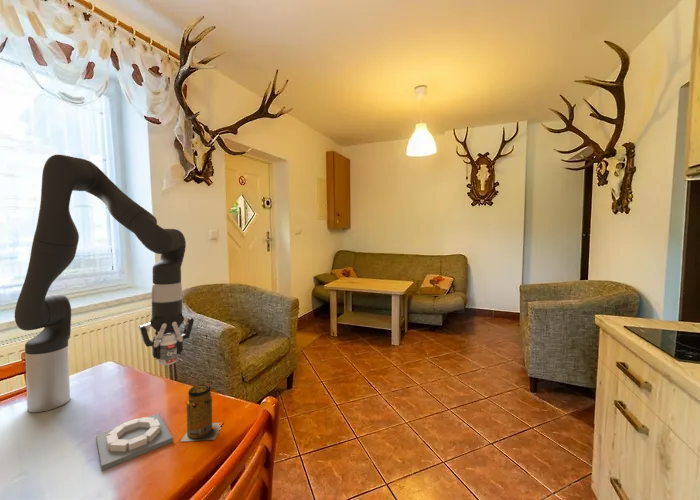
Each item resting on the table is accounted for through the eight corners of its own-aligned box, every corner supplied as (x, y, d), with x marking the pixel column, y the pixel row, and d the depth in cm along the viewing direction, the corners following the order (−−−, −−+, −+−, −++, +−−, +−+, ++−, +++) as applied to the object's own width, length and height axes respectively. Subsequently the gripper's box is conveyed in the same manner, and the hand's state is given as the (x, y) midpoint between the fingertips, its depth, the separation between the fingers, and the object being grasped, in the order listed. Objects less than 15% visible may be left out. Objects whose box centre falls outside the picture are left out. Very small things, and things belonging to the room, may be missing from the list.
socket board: (96, 439, 78) (96, 428, 78) (159, 417, 88) (159, 407, 87) (101, 470, 68) (101, 459, 68) (172, 442, 78) (172, 431, 77)
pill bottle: (168, 366, 86) (168, 337, 86) (154, 364, 87) (154, 335, 87) (181, 359, 91) (180, 332, 90) (167, 357, 92) (167, 330, 91)
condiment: (192, 424, 85) (191, 382, 84) (223, 423, 86) (223, 381, 85) (180, 442, 78) (179, 396, 77) (214, 440, 78) (214, 395, 78)
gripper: (190, 293, 95) (190, 346, 97) (134, 299, 86) (135, 358, 87) (198, 297, 90) (198, 353, 91) (140, 304, 80) (141, 367, 81)
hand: (167, 355), depth 89 cm, fingers closed on pill bottle, 4 cm apart
